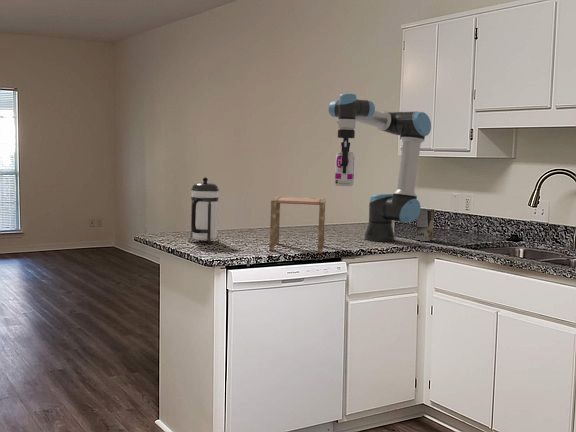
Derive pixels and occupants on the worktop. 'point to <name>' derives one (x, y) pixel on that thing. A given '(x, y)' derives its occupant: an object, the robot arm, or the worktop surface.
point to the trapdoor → (299, 201)
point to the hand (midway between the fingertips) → (344, 180)
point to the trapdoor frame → (276, 223)
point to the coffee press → (204, 211)
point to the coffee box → (425, 225)
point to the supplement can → (349, 174)
